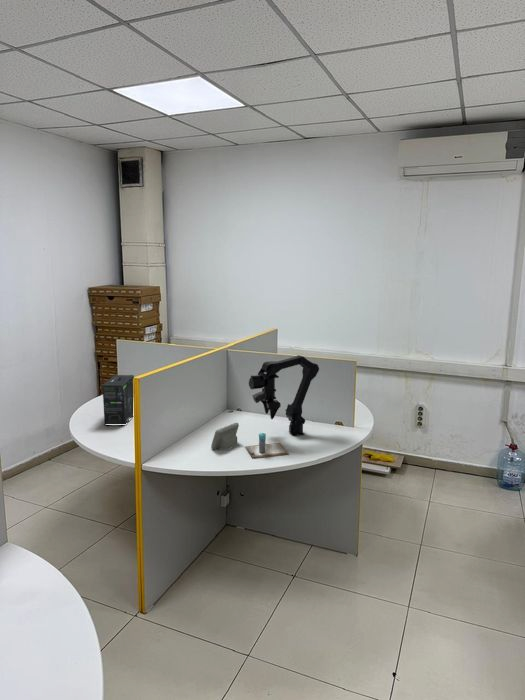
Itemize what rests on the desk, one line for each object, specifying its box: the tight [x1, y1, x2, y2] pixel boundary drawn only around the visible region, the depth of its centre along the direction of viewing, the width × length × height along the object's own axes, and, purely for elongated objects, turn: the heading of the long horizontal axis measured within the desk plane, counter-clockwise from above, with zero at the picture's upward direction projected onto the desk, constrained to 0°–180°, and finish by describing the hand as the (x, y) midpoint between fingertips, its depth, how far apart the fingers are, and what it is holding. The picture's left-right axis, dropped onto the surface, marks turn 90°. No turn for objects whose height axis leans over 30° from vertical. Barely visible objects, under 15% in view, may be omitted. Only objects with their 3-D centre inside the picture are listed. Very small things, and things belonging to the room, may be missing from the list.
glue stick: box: [258, 432, 267, 454], centre depth 228 cm, size 3×3×9 cm
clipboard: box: [244, 442, 290, 459], centre depth 232 cm, size 18×14×2 cm
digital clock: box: [210, 422, 240, 451], centre depth 238 cm, size 16×9×11 cm, turn 131°
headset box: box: [101, 374, 135, 425], centre depth 275 cm, size 22×12×26 cm, turn 179°
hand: (269, 416), depth 247 cm, fingers open, 9 cm apart
